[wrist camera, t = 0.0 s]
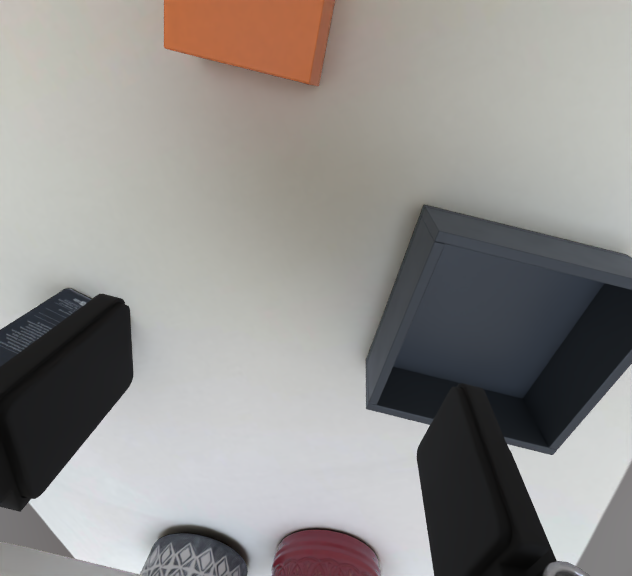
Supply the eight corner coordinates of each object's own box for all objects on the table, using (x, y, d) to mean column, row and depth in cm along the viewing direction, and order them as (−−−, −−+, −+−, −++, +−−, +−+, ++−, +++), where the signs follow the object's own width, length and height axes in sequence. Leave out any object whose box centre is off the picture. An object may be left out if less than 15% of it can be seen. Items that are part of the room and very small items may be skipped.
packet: (203, -61, 17) (163, -101, 14) (340, -27, 17) (334, -59, 14) (198, 57, 20) (163, 47, 16) (318, 86, 20) (309, 84, 16)
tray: (423, 204, 22) (438, 230, 18) (626, 254, 22) (692, 293, 18) (365, 360, 29) (366, 409, 24) (523, 399, 29) (552, 455, 24)
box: (66, 285, 29) (-76, 374, 19) (132, 317, 29) (25, 417, 20) (53, 349, 32) (-71, 450, 23) (112, 376, 33) (15, 485, 24)
